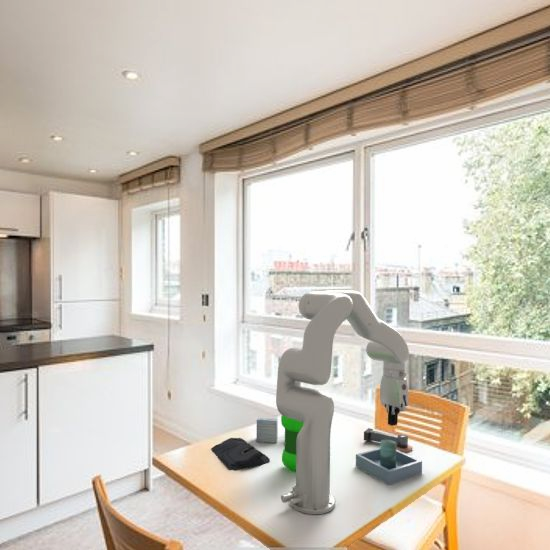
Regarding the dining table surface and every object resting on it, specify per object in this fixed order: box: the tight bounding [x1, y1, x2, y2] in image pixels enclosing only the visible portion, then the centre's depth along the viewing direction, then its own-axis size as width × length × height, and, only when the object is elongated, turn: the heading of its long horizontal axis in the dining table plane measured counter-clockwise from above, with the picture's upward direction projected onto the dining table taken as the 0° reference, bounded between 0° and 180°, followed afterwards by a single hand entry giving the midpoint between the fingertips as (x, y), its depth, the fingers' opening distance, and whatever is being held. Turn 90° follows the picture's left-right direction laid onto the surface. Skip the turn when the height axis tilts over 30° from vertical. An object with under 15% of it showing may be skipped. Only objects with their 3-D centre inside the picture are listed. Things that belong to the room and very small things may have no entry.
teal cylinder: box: [380, 440, 396, 470], centre depth 140 cm, size 5×5×8 cm
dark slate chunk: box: [210, 437, 270, 472], centre depth 151 cm, size 15×22×5 cm
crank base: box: [396, 444, 413, 453], centre depth 158 cm, size 7×7×1 cm
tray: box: [355, 447, 423, 486], centre depth 140 cm, size 15×15×4 cm
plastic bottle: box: [280, 414, 303, 473], centre depth 141 cm, size 10×10×25 cm
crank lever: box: [363, 428, 409, 448], centre depth 162 cm, size 16×5×4 cm, turn 57°
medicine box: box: [255, 416, 279, 444], centre depth 165 cm, size 8×4×9 cm, turn 84°
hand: (392, 424), depth 152 cm, fingers closed
